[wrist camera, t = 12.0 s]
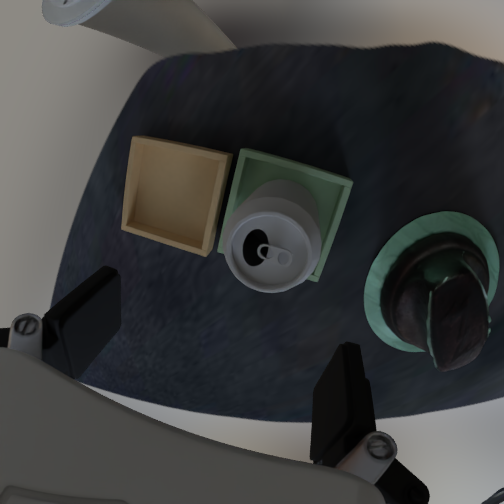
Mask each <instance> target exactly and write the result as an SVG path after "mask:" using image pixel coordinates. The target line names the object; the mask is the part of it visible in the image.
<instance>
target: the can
mask: <svg viewBox="0 0 504 504" xmlns="http://www.w3.org/2000/svg"><path fill="white" fill-rule="evenodd" d="M321 246H322V242H321V232H320V224H319V215H318V210H317V205H316V201H315V200H314V198H313V196H312V195H311V193H310V192H309V191H308V190H307V189H306V188H305V187H303V186H302V185H301V184H299V183H296V182H294V181H291V180H285V179H277V180H272V181H268V182H266V183H265V184H263V185H261V186H260V187H258V188H257V189H256V190H255V191H254V192H253V193H252V194H251V195H250V196H249V197H248V198H247V199H246V200H245V201H244V202H243V203H242V204H241V205H240V206H239V207H238V208H237V209H236V210H235V211H234V213H233V214H232V215H231V217H230V218H229V219H228V220H227V223H226V226H225V229H224V232H223V252H224V255H225V258H226V261H227V263H228V265H229V268H230V269H231V271H232V272H233V273H234V275H235V276H236V278H237V279H239V280H240V281H241V282H242V283H244V284H245V285H246V286H248V287H250V288H252V289H255V290H257V291H260V292H269V293H275V292H281V291H286V290H288V289H290V288H292V287H294V286H296V285H298V284H300V283H302V282H303V281H304V280H305V279H307V278H308V277H309V276H310V275H311V274H312V273H313V271H314V269H315V267H316V265H317V263H318V261H319V259H320V254H321Z"/></svg>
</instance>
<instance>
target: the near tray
mask: <svg viewBox="0 0 504 504" xmlns="http://www.w3.org/2000/svg"><path fill="white" fill-rule="evenodd" d="M277 179H285V180H291V181H294V182H296V183H299V184H301V185H302V186H303V187H305V188H306V189H307V190H308V191H309V192H310V193H311V195H312V196H313V198H314V200H315V201H316V205H317V210H318V215H319V224H320V232H321V242H322V246H321V254H320V259H319V261H318V263H317V265H316V267H315V269H314V271H313V273H312V274H311V275H310V276H309V277H308V278H307V279H308V280H312V281H315V282H318V280H319V277H320V275H321V272H322V269H323V267H324V264H325V262H326V259H327V256H328V254H329V251H330V248H331V245H332V243H333V240H334V237H335V234H336V232H337V229H338V226H339V223H340V220H341V217H342V214H343V212H344V209H345V206H346V203H347V200H348V197H349V194H350V191H351V187H352V184H353V181H352V180H351V179H350V178H347V177H344V176H341V175H338V174H335V173H332V172H329V171H326V170H323V169H320V168H317V167H314V166H310V165H307V164H304V163H300V162H297V161H294V160H290V159H287V158H283V157H279V156H276V155H272V154H268V153H265V152H261V151H257V150H253V149H249V148H242V149H241V150H240V154H239V158H238V162H237V166H236V170H235V175H234V179H233V183H232V187H231V192H230V196H229V200H228V205H227V209H226V214H225V218H224V222H223V227H222V232H221V236H220V241H219V245H218V250H217V252H220V253H223V254H224V252H223V232H224V229H225V226H226V223H227V220H228V219H229V218H230V217H231V215H232V214H233V213H234V211H235V210H236V209H237V208H238V207H239V206H240V205H241V204H242V203H243V202H244V201H245V200H246V199H247V198H248V197H249V196H250V195H251V194H252V193H253V192H254V191H255V190H256V189H257V188H258V187H260V186H261V185H263V184H265V183H266V182H268V181H272V180H277Z"/></svg>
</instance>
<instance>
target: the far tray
mask: <svg viewBox="0 0 504 504" xmlns="http://www.w3.org/2000/svg"><path fill="white" fill-rule="evenodd" d="M232 159H233V154H231V153H227V152H222V151H218V150H214V149H209V148H205V147H200V146H196V145H191V144H186V143H181V142H176V141H171V140H166V139H160V138H155V137H149V136H132V141H131V148H130V154H129V161H128V168H127V176H126V184H125V193H124V203H123V214H122V226H121V229H122V230H125V231H128V232H131V233H134V234H137V235H140V236H143V237H146V238H149V239H152V240H155V241H159V242H162V243H165V244H168V245H171V246H174V247H177V248H180V249H183V250H186V251H190V252H193V253H196V254H199V255H202V256H205V257H206V256H207V255H208V254H209V253H210V251H211V250H212V249H213V244H214V239H215V234H216V230H217V225H218V220H219V216H220V211H221V207H222V202H223V198H224V193H225V189H226V184H227V180H228V176H229V171H230V167H231V163H232Z"/></svg>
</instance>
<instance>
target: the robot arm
mask: <svg viewBox="0 0 504 504" xmlns="http://www.w3.org/2000/svg"><path fill="white" fill-rule="evenodd" d="M80 1H81V0H50V2H51V3H52V5H54V6H55V7H59V8H66V7H70V6H72V5H75V4H76V3H78V2H80ZM120 326H121V278H120V275H119V274H118V271H117V270H116V269H114V268H111V267H108V266H103V267H102V268H100V269H99V270H98V271H97V272H95V273H94V274H93V275H91V276H90V277H89V278H88V279H86V280H85V281H84V282H83V283H81V284H80V285H79V286H78V287H76V288H75V289H74V290H73V291H71V292H70V293H69V294H68V295H67V296H65V297H64V298H63V299H62V300H61V301H59V302H58V303H57V304H56V305H55V306H53V307H52V308H51V309H50V310H49V311H48V312H46V314H45V315H44V317H43V318H42V319H41V318H40V317H39V316H37V315H35V314H31V313H26V314H22V315H19V316H18V317H16V318H15V319H14V320H13V322H12V324H11V328H0V504H428V502H429V497H430V495H429V490H428V488H427V486H426V485H425V484H424V483H423V482H422V481H420V480H419V479H418V478H417V477H416V476H415V475H413V474H412V473H411V472H410V471H409V470H408V469H407V468H406V467H405V466H403V465H402V464H401V463H400V462H399V461H398V460H397V459H396V458H395V457H396V455H397V445H396V443H395V441H394V439H392V437H391V436H389V435H388V434H386V433H384V432H381V431H376V423H375V415H374V408H373V401H372V394H371V387H370V382H369V380H368V379H367V378H365V373H364V367H363V361H362V355H361V349H360V345H359V344H355V343H350V342H345V343H344V344H340V345H339V346H338V348H337V350H336V351H335V353H334V355H333V357H332V359H331V360H330V362H329V364H328V365H327V367H326V369H325V371H324V372H323V374H322V376H321V377H320V379H319V381H318V382H317V384H316V386H315V388H314V392H313V410H312V430H311V446H310V460H313V464H312V463H307V462H302V461H296V460H291V459H286V458H281V457H276V456H272V455H267V454H263V453H259V452H255V451H251V450H247V449H242V448H239V447H235V446H231V445H228V444H225V443H221V442H218V441H214V440H211V439H208V438H205V437H202V436H199V435H195V434H193V433H190V432H187V431H184V430H182V429H179V428H176V427H173V426H171V425H168V424H166V423H163V422H161V421H158V420H156V419H153V418H151V417H149V416H146V415H144V414H142V413H139V412H137V411H135V410H132V409H130V408H128V407H126V406H124V405H122V404H120V403H118V402H115V401H113V400H111V399H109V398H107V397H105V396H103V395H101V394H99V393H97V392H96V391H94V390H92V389H90V388H88V387H86V386H85V385H83V384H81V383H79V382H77V381H76V380H74V379H75V378H76V379H78V378H79V377H80V376H81V375H82V374H83V372H84V371H85V370H86V369H87V368H88V366H89V365H90V364H91V363H92V361H93V360H94V359H95V358H96V357H97V355H98V354H99V353H100V352H101V350H102V349H103V348H104V347H105V346H106V344H107V343H108V342H109V341H110V340H111V339H112V337H113V336H114V335H115V334H116V333H117V331H118V330H119V329H120Z"/></svg>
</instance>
